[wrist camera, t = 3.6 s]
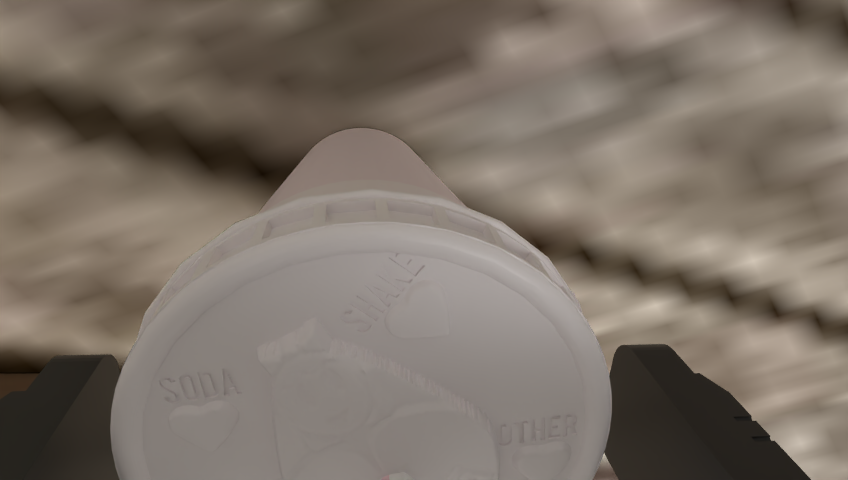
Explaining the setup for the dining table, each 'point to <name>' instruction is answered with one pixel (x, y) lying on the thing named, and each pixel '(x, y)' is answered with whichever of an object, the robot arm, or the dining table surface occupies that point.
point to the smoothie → (363, 341)
